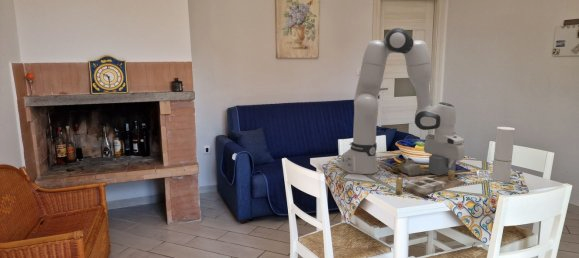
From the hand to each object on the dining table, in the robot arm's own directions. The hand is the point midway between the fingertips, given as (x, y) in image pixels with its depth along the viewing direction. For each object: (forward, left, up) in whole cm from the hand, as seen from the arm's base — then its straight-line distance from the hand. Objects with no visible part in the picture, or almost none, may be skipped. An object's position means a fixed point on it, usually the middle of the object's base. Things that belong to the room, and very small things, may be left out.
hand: (442, 165), depth 194 cm
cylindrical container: (+21, +14, -5) cm, 26 cm away
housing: (0, 0, -3) cm, 3 cm away
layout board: (+10, -17, -5) cm, 20 cm away
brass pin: (+6, -36, -5) cm, 36 cm away
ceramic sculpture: (-10, -12, -5) cm, 17 cm away
